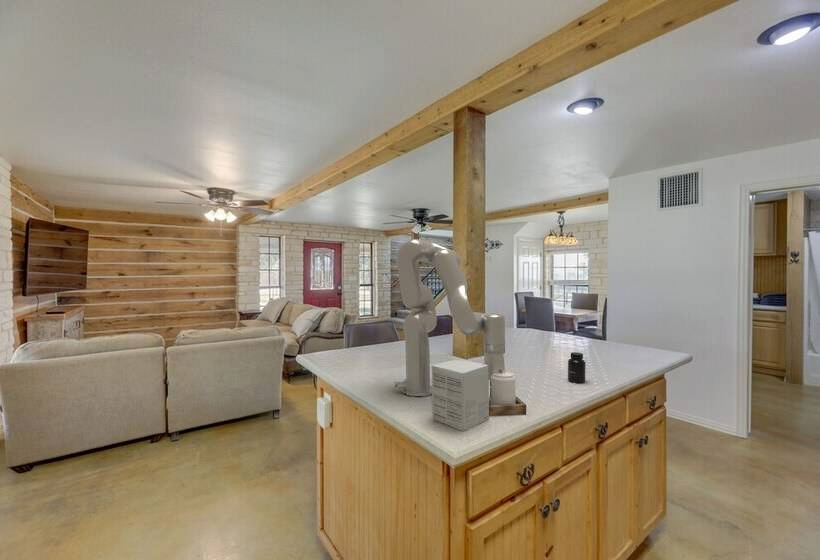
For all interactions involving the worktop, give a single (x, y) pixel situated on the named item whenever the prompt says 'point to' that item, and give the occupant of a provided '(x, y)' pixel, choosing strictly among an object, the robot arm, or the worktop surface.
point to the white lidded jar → (503, 389)
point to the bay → (508, 409)
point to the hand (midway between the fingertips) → (495, 398)
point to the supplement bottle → (576, 368)
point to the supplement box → (460, 393)
